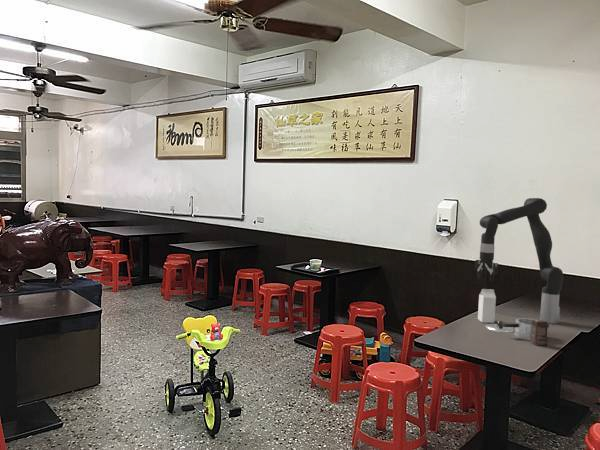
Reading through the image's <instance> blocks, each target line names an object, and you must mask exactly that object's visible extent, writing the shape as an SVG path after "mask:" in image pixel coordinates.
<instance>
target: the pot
mask: <svg viewBox="0 0 600 450" xmlns="http://www.w3.org/2000/svg"><path fill="white" fill-rule="evenodd" d="M532 320H535V319H534V318H526V317H523V318H521V317H520V318H516V319H515V322H503V323H502V326H503V327H512V328H514V329H515V331H514V337H515V338H516V337H517V338H518V339H521V340H525V341H531V335H532ZM549 327H550V323H548V328H549Z"/></svg>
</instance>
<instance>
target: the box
mask: <svg viewBox="0 0 600 450" xmlns="http://www.w3.org/2000/svg"><path fill="white" fill-rule="evenodd" d="M548 324H549V323H548V322H547V321H545V320H540V319H534V320H532V335H531V342H530V343H531V345H532V344H533V345H534V346H547V344H548V328H549V327H548Z"/></svg>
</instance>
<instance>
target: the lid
mask: <svg viewBox="0 0 600 450" xmlns="http://www.w3.org/2000/svg"><path fill="white" fill-rule="evenodd" d="M502 323H504V320H497V323H486V324H485V328H486V329H488V330H490V331H493V332H498V333H508V334H509V333H515V327H503V326H502Z"/></svg>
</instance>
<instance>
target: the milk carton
mask: <svg viewBox="0 0 600 450" xmlns="http://www.w3.org/2000/svg"><path fill="white" fill-rule="evenodd" d="M496 302H497V296H496V293H495V289H491V288H489V289H487V288H482V289H481V291H480V293H479V295H478V308H477V310H478V311H477V320H478V321H480V322H481V323H486V324H495V316H496V315H495V314H496Z"/></svg>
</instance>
